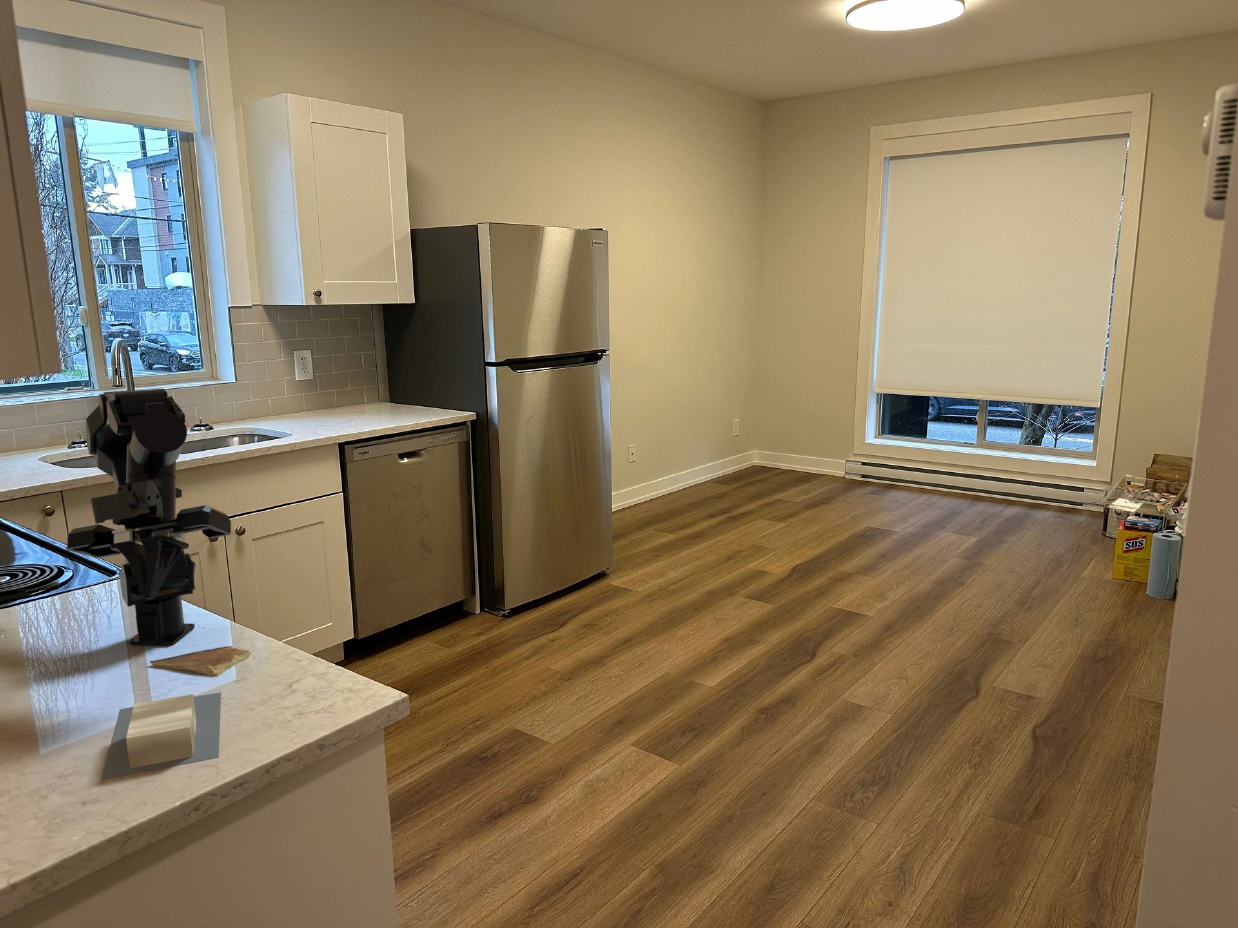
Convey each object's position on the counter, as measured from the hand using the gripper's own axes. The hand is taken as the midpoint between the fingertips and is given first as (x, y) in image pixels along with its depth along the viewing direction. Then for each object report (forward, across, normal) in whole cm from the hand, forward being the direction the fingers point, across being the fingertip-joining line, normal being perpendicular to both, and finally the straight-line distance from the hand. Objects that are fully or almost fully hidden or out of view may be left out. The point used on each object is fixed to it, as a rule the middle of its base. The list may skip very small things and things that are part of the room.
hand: (148, 598), depth 107 cm
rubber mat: (+17, +5, -3) cm, 18 cm away
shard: (+9, +1, +11) cm, 14 cm away
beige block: (+15, +5, -4) cm, 16 cm away
